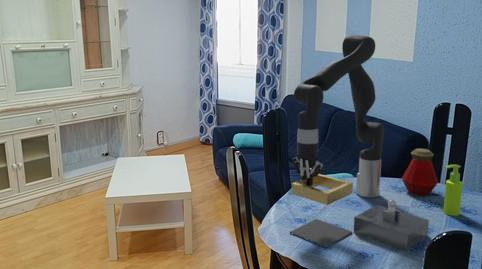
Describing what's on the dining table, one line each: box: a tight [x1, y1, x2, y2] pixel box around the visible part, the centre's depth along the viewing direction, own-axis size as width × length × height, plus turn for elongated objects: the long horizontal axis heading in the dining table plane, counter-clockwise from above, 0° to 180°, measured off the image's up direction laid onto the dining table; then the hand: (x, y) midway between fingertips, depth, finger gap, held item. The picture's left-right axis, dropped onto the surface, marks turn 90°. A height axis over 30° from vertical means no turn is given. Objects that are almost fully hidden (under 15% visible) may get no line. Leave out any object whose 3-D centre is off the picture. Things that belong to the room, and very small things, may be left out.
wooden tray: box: [291, 173, 354, 206], centre depth 148 cm, size 15×15×4 cm
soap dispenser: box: [442, 164, 464, 217], centre depth 165 cm, size 6×7×20 cm
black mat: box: [289, 218, 353, 249], centre depth 152 cm, size 16×16×1 cm
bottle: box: [401, 148, 439, 197], centre depth 188 cm, size 16×14×20 cm
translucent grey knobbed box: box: [353, 199, 430, 252], centre depth 149 cm, size 20×16×13 cm
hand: (306, 186), depth 153 cm, fingers closed on wooden tray
